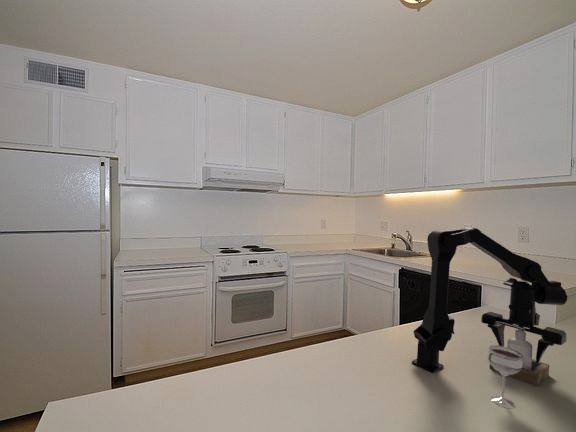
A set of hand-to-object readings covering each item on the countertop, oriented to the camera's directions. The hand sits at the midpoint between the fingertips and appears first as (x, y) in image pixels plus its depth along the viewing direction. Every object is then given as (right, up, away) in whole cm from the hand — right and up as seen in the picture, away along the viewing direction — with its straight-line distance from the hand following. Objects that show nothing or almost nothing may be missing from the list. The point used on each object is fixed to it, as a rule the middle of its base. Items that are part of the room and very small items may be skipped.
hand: (519, 356), depth 85 cm
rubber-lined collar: (0, -5, 0) cm, 5 cm away
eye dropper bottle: (0, -4, 0) cm, 4 cm away
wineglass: (-16, -4, -15) cm, 23 cm away
